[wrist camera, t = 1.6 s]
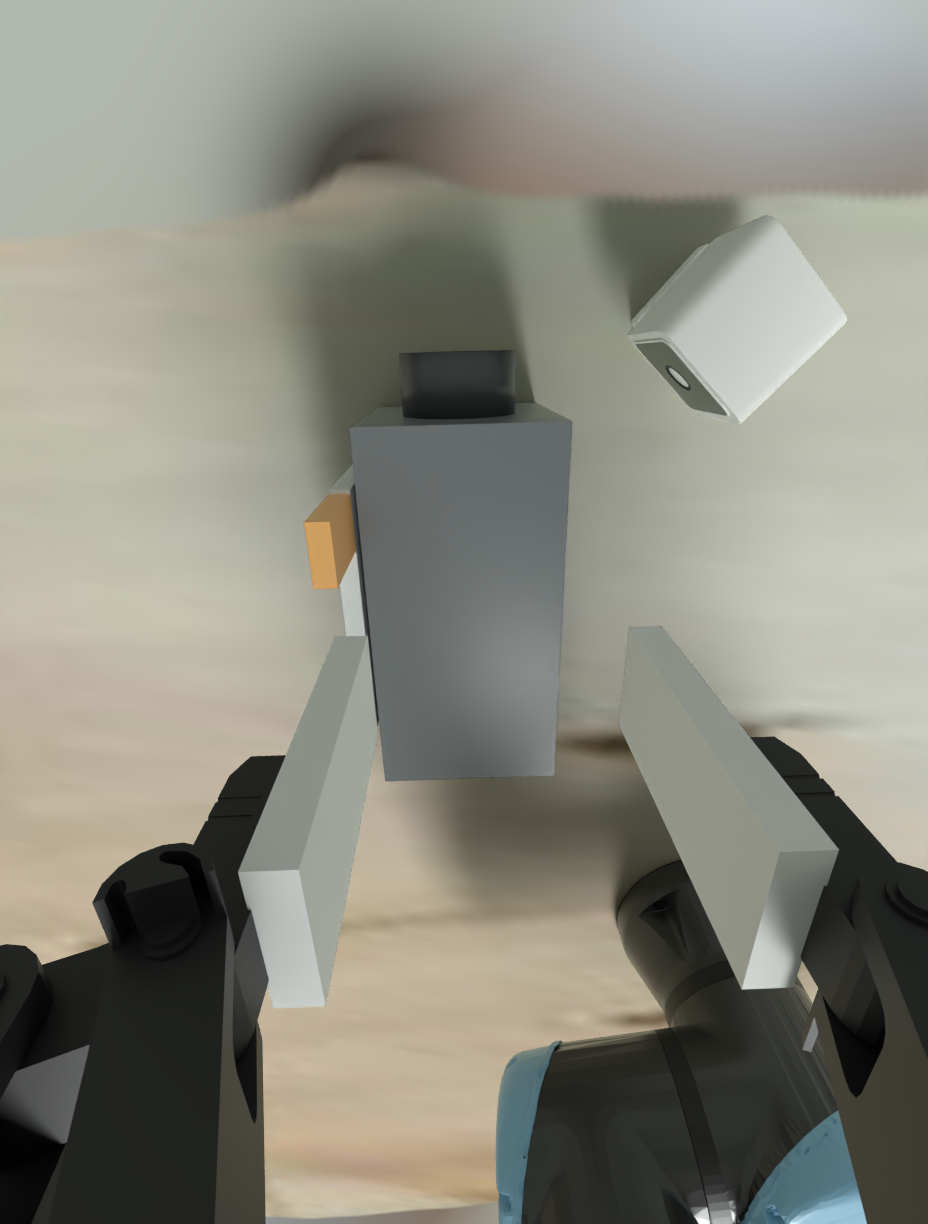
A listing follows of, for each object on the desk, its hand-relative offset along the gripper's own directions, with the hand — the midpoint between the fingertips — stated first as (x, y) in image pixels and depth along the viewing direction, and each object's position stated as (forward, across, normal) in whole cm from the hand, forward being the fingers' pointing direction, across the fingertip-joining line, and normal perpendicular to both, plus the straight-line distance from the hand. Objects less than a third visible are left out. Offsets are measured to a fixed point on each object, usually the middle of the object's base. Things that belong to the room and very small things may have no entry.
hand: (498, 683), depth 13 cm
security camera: (+27, -14, -8) cm, 32 cm away
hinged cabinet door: (+26, +6, +6) cm, 28 cm away
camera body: (+27, 0, +4) cm, 27 cm away
